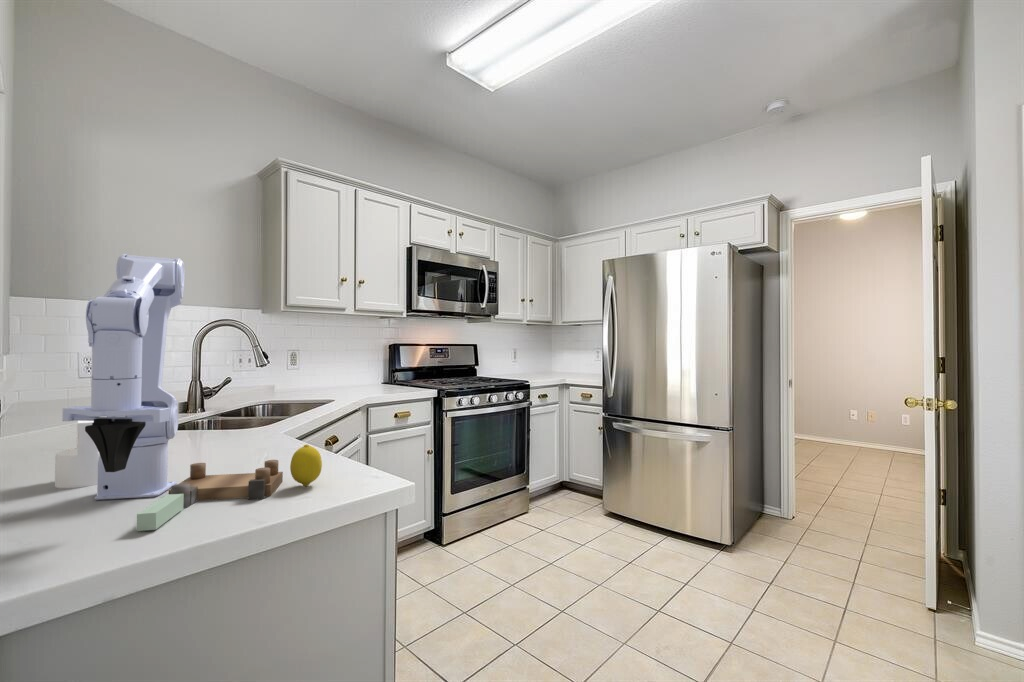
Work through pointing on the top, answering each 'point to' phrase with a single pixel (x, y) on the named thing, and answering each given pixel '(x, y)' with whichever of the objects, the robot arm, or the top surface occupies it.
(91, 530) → the top surface
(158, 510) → the pale green bar
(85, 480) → the base with upright slab
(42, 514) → the top surface
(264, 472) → the stool seat
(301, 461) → the lemon
